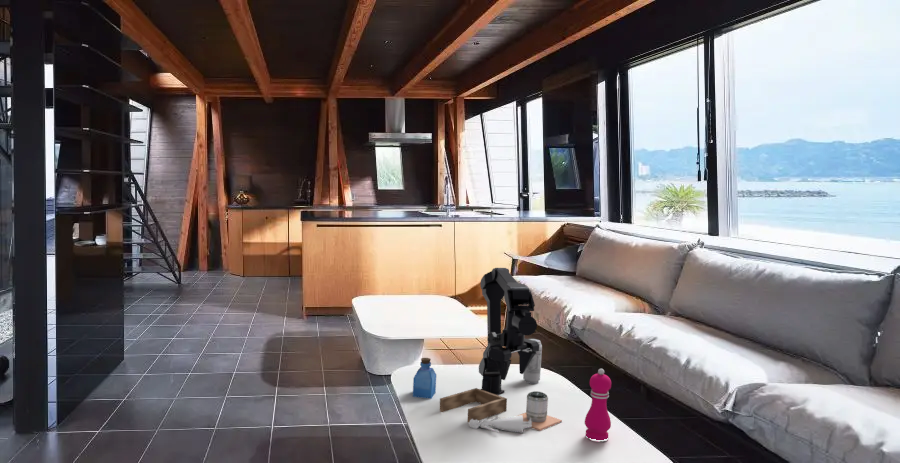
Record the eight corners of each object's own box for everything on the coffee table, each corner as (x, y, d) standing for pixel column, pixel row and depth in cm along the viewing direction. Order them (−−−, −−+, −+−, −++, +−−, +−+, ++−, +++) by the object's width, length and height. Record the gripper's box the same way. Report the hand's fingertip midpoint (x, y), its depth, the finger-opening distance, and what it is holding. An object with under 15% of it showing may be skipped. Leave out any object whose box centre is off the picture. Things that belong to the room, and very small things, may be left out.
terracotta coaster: (532, 411, 203) (532, 410, 202) (561, 422, 195) (561, 420, 195) (510, 419, 195) (510, 418, 195) (539, 430, 187) (540, 428, 187)
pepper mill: (580, 432, 187) (585, 364, 186) (605, 433, 188) (609, 365, 186) (588, 443, 180) (592, 372, 178) (613, 443, 181) (618, 372, 179)
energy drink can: (538, 379, 237) (540, 338, 236) (541, 384, 231) (543, 342, 230) (521, 378, 237) (524, 338, 236) (524, 383, 231) (526, 342, 230)
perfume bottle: (431, 398, 210) (433, 362, 209) (412, 396, 211) (414, 360, 211) (435, 393, 216) (437, 357, 215) (417, 390, 217) (419, 355, 217)
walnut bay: (475, 400, 211) (476, 388, 211) (506, 411, 202) (507, 398, 202) (439, 411, 199) (440, 398, 199) (470, 423, 190) (471, 410, 190)
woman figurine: (532, 423, 181) (468, 423, 182) (533, 439, 181) (468, 439, 182) (529, 408, 192) (469, 409, 193) (530, 423, 193) (469, 423, 194)
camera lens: (547, 416, 197) (549, 391, 196) (545, 424, 191) (547, 398, 190) (526, 414, 199) (528, 389, 198) (524, 421, 192) (525, 395, 192)
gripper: (513, 317, 210) (510, 364, 212) (475, 325, 196) (472, 376, 198) (541, 324, 203) (538, 373, 204) (504, 333, 189) (501, 385, 191)
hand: (512, 376), depth 199 cm, fingers open, 9 cm apart
